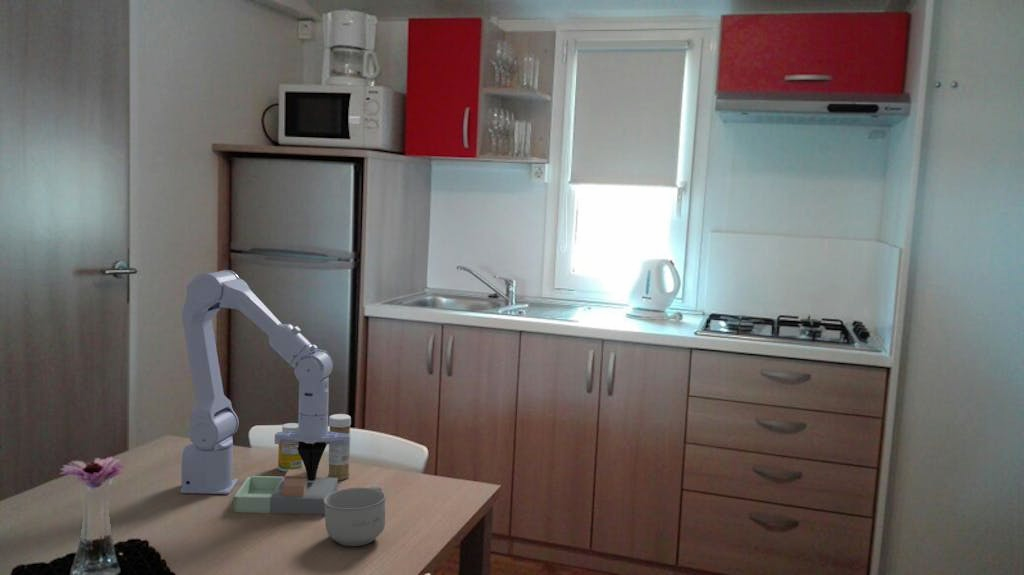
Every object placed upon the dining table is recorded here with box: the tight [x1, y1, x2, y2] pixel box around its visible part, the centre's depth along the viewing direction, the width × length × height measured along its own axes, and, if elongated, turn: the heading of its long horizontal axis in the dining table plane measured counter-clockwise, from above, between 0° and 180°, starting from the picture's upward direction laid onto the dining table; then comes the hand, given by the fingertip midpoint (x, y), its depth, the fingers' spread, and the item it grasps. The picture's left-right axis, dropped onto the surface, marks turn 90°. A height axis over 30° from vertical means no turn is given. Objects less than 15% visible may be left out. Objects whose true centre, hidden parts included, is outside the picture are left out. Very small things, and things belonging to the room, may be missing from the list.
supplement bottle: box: [277, 422, 305, 473], centre depth 186 cm, size 5×5×10 cm
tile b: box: [282, 478, 307, 496], centre depth 164 cm, size 4×4×2 cm
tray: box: [232, 475, 283, 514], centre depth 167 cm, size 7×12×3 cm, turn 4°
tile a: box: [284, 469, 308, 482], centre depth 170 cm, size 4×4×2 cm
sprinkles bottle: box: [327, 413, 352, 481], centre depth 182 cm, size 5×5×13 cm
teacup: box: [324, 485, 387, 547], centre depth 152 cm, size 14×11×8 cm
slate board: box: [269, 476, 339, 515], centre depth 167 cm, size 11×12×3 cm
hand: (311, 479), depth 170 cm, fingers closed
